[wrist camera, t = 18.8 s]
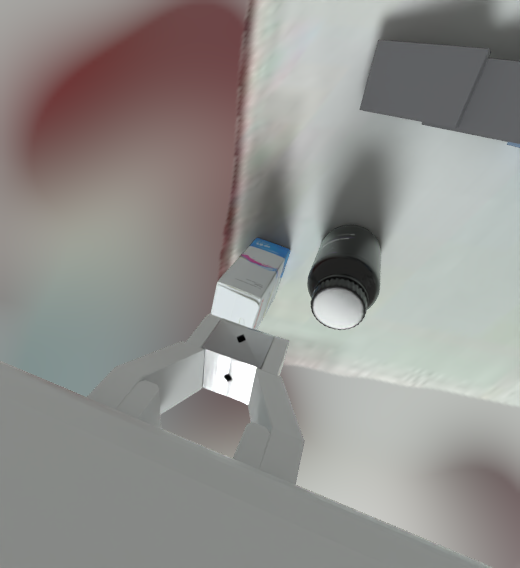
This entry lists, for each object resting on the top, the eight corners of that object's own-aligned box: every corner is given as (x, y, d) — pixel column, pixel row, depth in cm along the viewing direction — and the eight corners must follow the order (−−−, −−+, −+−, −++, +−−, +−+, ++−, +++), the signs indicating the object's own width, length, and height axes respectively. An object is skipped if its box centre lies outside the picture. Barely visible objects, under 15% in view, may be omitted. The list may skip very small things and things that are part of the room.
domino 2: (451, 56, 26) (569, 69, 23) (424, 123, 28) (526, 144, 25) (448, 53, 24) (573, 67, 21) (421, 124, 27) (528, 145, 24)
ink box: (254, 234, 40) (215, 280, 30) (291, 248, 39) (263, 300, 29) (241, 287, 44) (203, 341, 35) (273, 300, 44) (244, 359, 34)
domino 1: (385, 43, 27) (490, 52, 23) (366, 110, 29) (458, 127, 26) (378, 39, 25) (489, 48, 22) (359, 109, 28) (455, 127, 24)
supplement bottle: (340, 211, 35) (325, 258, 25) (393, 242, 35) (399, 302, 25) (309, 258, 39) (286, 313, 29) (357, 286, 39) (350, 351, 29)
